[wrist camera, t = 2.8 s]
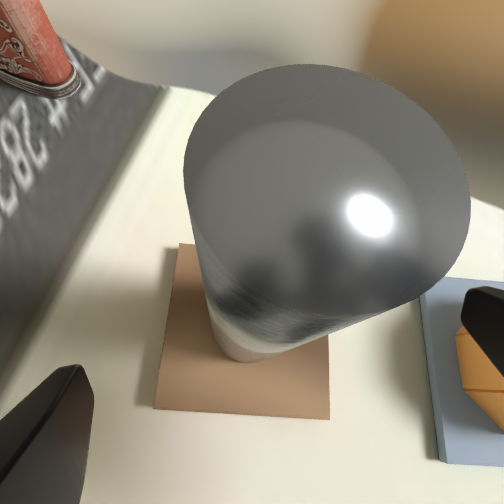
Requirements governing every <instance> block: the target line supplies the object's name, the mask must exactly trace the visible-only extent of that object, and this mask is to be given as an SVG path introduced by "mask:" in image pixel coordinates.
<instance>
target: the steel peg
mask: <svg viewBox="0 0 504 504" xmlns="http://www.w3.org/2000/svg"><path fill="white" fill-rule="evenodd" d="M183 175H184V189H185V194H186V199H187V204H188V209H189V214H190V219H191V224H192V229H193V234H194V239H195V244H196V250H197V255H198V260H199V265H200V270H201V275H202V280H203V285H204V290H205V295H206V300H207V305H208V311H209V316H210V321H211V326H212V331H213V335H214V339H215V341H216V343H217V345H218V347H219V348H220V350H221V351H222V352H223V353H224V354H225V355H227V356H228V357H229V358H231V359H233V360H235V361H238V362H241V363H256V362H260V361H263V360H265V359H268V358H270V357H273V356H275V355H278V354H280V353H283V352H285V351H288V350H290V349H293V348H295V347H298V346H300V345H303V344H305V343H308V342H310V341H313V340H315V339H318V338H320V337H323V336H325V335H328V334H330V333H333V332H335V331H338V330H340V329H343V328H346V327H348V326H351V325H353V324H356V323H358V322H361V321H363V320H366V319H368V318H371V317H373V316H376V315H378V314H381V313H383V312H386V311H388V310H391V309H393V308H396V307H398V306H400V305H403V304H405V303H407V302H409V301H412V300H414V299H416V298H417V297H419V296H420V295H422V294H423V293H425V292H427V291H428V290H430V289H431V288H432V287H433V286H434V285H435V284H436V283H438V282H439V281H440V280H441V279H442V278H443V277H444V276H445V275H446V273H447V272H448V271H449V270H450V268H451V267H452V266H453V264H454V263H455V261H456V259H457V258H458V256H459V254H460V252H461V250H462V248H463V245H464V242H465V240H466V237H467V234H468V228H469V223H470V212H471V200H470V192H469V185H468V182H467V178H466V174H465V171H464V168H463V165H462V163H461V161H460V158H459V156H458V154H457V152H456V150H455V149H454V147H453V145H452V143H451V142H450V140H449V139H448V137H447V136H446V135H445V133H444V132H443V130H442V129H441V128H440V126H439V125H438V124H437V123H436V122H435V121H434V120H433V119H432V118H431V116H430V115H429V114H427V113H426V112H425V111H424V110H423V109H422V108H421V107H420V106H419V105H418V104H416V103H415V102H414V101H412V100H411V99H410V98H408V97H407V96H406V95H404V94H403V93H401V92H399V91H398V90H396V89H394V88H392V87H391V86H389V85H387V84H385V83H383V82H381V81H379V80H377V79H375V78H372V77H370V76H367V75H364V74H362V73H359V72H355V71H351V70H348V69H344V68H339V67H333V66H327V65H314V64H302V65H301V64H298V65H288V66H280V67H276V68H271V69H267V70H263V71H260V72H258V73H255V74H252V75H249V76H247V77H245V78H243V79H241V80H239V81H237V82H236V83H234V84H233V85H231V86H230V87H228V88H227V89H225V90H224V91H222V92H221V93H220V94H219V95H218V96H217V97H216V98H215V99H213V100H212V101H211V103H210V104H209V105H208V106H207V107H206V108H205V110H204V111H203V112H202V114H201V115H200V117H199V118H198V120H197V122H196V123H195V125H194V127H193V130H192V132H191V134H190V137H189V139H188V143H187V147H186V151H185V156H184V167H183Z"/></svg>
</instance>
